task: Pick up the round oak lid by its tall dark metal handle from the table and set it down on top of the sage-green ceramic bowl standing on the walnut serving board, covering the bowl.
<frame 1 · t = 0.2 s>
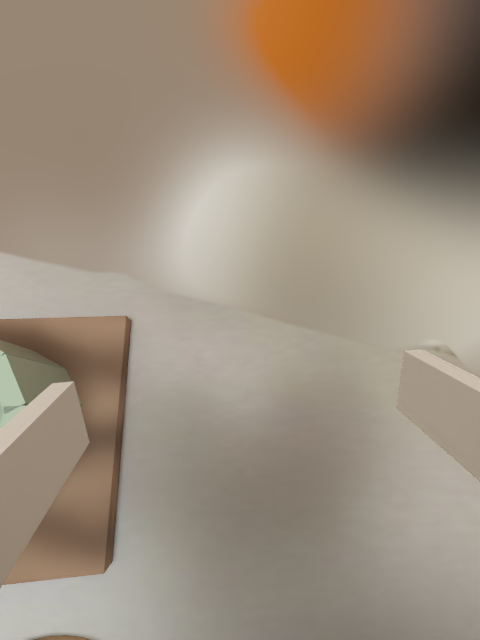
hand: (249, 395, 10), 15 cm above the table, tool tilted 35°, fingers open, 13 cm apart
serving board: (4, 432, 23), on the table
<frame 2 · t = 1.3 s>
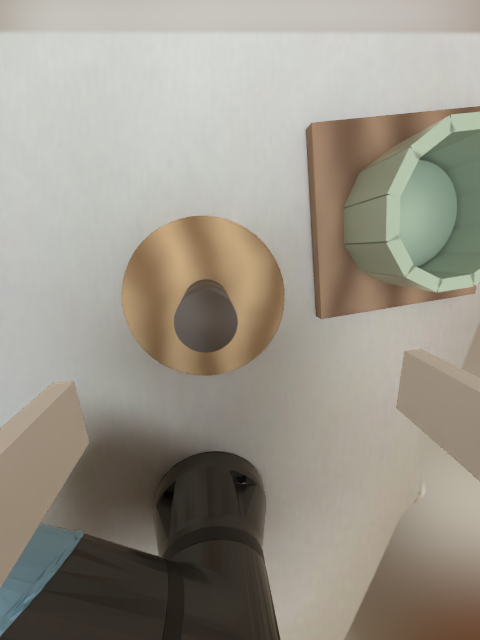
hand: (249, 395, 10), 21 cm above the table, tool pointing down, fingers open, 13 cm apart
serving board: (394, 220, 30), on the table
bowl: (403, 218, 29), resting on serving board
lid: (206, 299, 30), on the table
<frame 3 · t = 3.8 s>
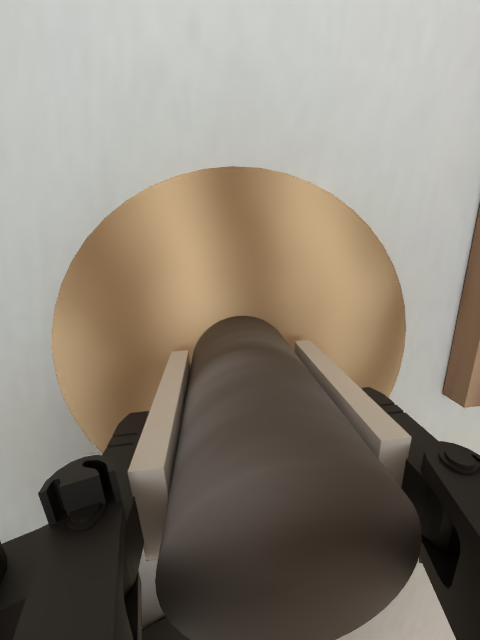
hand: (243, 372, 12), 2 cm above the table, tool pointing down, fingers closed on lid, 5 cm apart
lid: (238, 353, 15), on the table, touching gripper
when the fingers open (12 cm above the table, at t = 8.1 s): lid drops 1 cm, resting on bowl.
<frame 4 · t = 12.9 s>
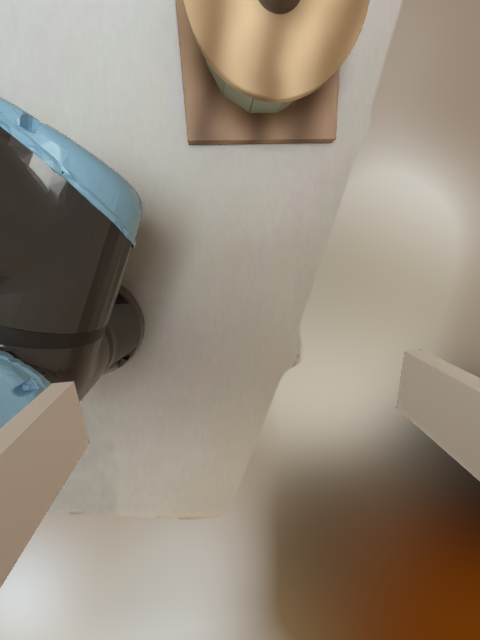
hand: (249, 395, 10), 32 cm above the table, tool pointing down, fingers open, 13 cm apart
serving board: (260, 53, 33), on the table
bowl: (262, 45, 32), resting on serving board
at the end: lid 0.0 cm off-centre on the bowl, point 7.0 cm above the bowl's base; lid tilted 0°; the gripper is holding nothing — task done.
